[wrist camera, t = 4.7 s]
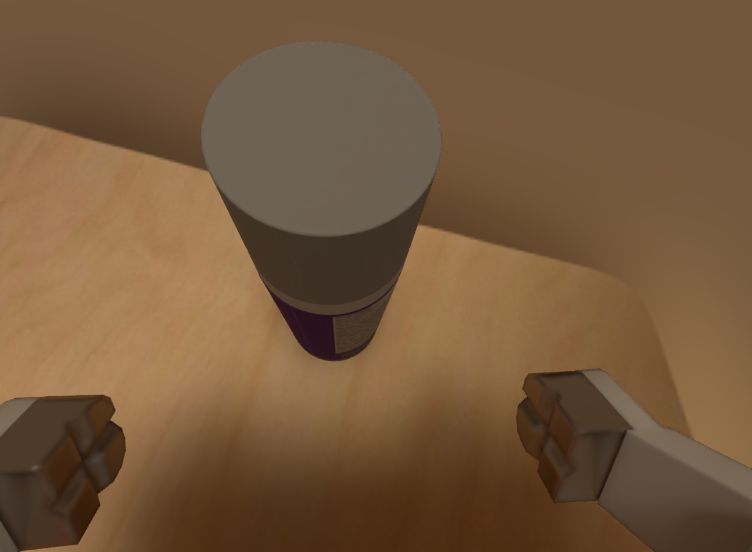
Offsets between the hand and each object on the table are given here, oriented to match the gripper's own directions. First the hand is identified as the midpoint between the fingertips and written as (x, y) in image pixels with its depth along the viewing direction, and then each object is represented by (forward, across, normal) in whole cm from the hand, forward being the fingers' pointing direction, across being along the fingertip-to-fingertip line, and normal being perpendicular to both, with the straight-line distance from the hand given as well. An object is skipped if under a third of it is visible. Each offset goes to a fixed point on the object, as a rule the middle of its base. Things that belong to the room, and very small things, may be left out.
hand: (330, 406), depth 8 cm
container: (+12, 0, +6) cm, 14 cm away
